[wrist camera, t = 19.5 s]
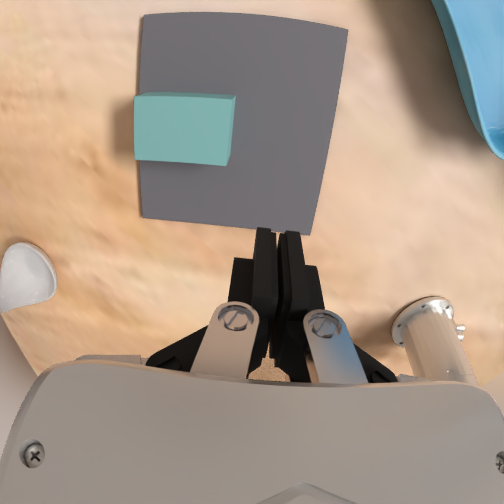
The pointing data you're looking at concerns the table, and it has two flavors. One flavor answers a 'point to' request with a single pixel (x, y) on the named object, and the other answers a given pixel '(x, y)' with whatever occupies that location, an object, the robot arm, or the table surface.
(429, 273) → the table surface
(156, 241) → the table surface
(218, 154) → the teal rectangular block
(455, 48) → the casserole dish
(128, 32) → the table surface
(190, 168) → the mat
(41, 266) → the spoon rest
